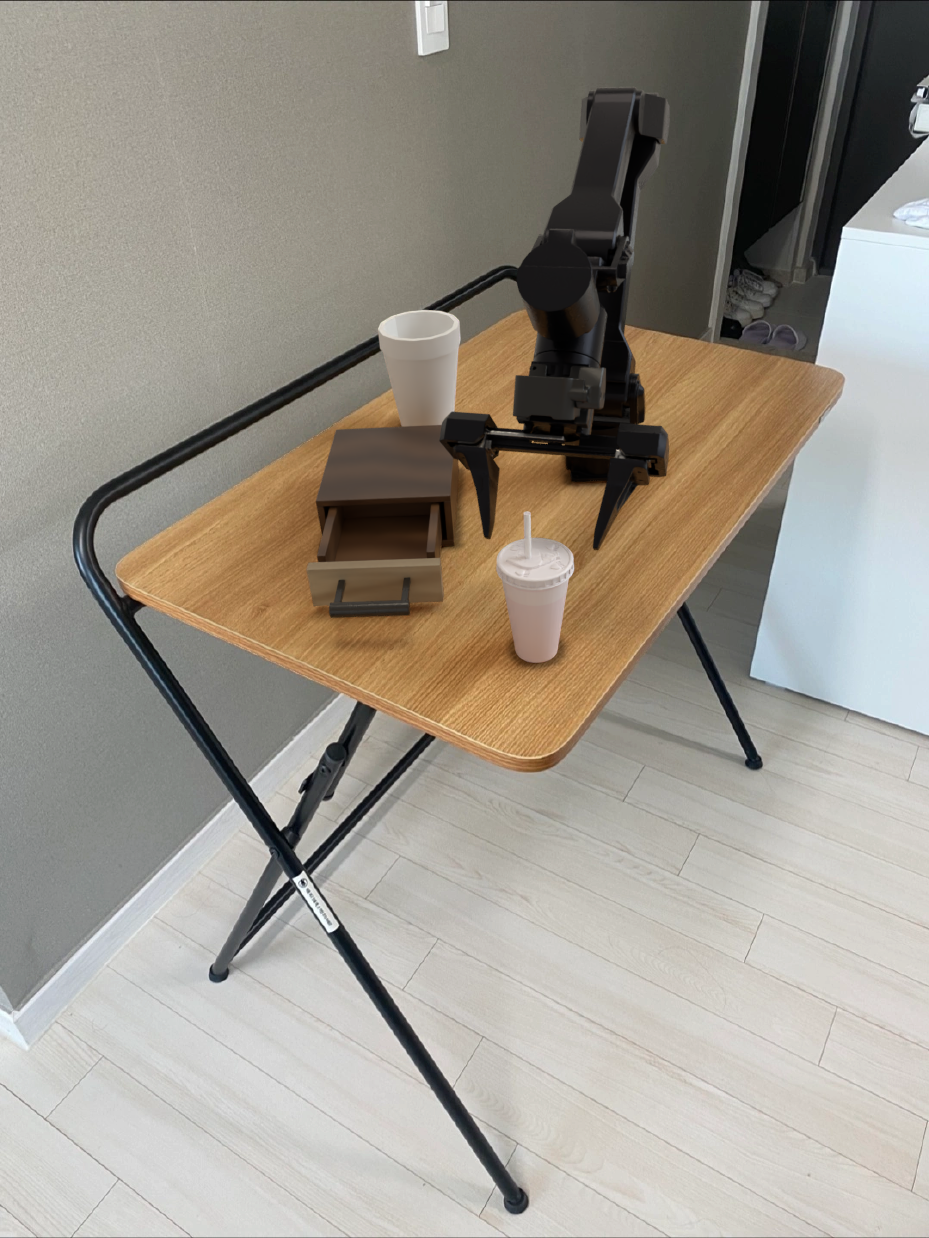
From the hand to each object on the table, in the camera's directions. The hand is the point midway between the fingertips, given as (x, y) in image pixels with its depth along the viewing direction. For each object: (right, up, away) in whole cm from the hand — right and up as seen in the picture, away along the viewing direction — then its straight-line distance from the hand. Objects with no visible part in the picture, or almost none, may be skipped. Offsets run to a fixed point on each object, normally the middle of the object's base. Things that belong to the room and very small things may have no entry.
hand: (540, 543), depth 80 cm
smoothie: (0, -9, +4) cm, 10 cm away
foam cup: (-11, +17, +39) cm, 44 cm away
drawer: (-14, -2, +13) cm, 19 cm away
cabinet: (-14, +6, +24) cm, 29 cm away
